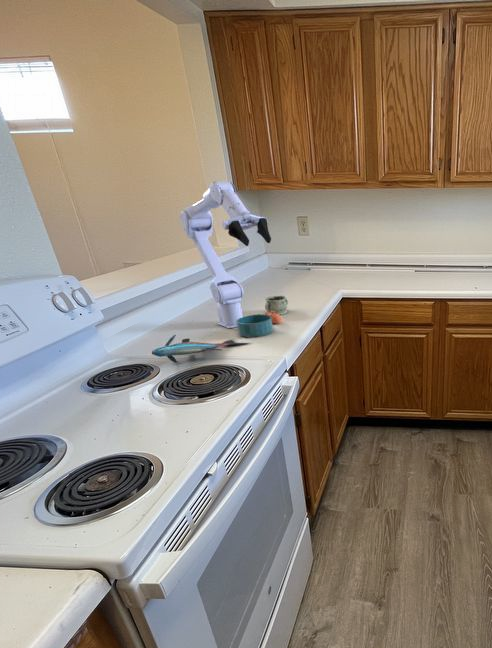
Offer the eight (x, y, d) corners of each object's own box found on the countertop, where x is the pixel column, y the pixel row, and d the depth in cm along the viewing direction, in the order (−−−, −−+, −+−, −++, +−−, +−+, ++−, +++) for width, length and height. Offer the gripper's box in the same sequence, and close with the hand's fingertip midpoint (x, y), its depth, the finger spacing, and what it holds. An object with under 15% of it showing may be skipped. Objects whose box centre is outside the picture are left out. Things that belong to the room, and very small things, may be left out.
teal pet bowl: (232, 333, 150) (229, 320, 148) (262, 325, 158) (260, 312, 156) (249, 340, 143) (247, 326, 141) (280, 331, 151) (277, 318, 149)
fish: (138, 362, 122) (165, 372, 114) (136, 334, 120) (163, 342, 112) (230, 351, 146) (257, 358, 138) (229, 327, 144) (257, 333, 136)
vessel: (281, 308, 181) (279, 293, 179) (295, 310, 177) (293, 295, 174) (259, 314, 172) (256, 300, 170) (274, 317, 168) (271, 302, 165)
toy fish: (262, 321, 164) (260, 310, 162) (270, 319, 166) (269, 308, 164) (275, 325, 158) (274, 314, 156) (284, 323, 160) (282, 312, 158)
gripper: (217, 202, 125) (239, 234, 123) (260, 200, 135) (282, 230, 133) (213, 220, 130) (235, 252, 128) (255, 217, 140) (276, 246, 138)
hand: (259, 242), depth 131 cm, fingers open, 7 cm apart
